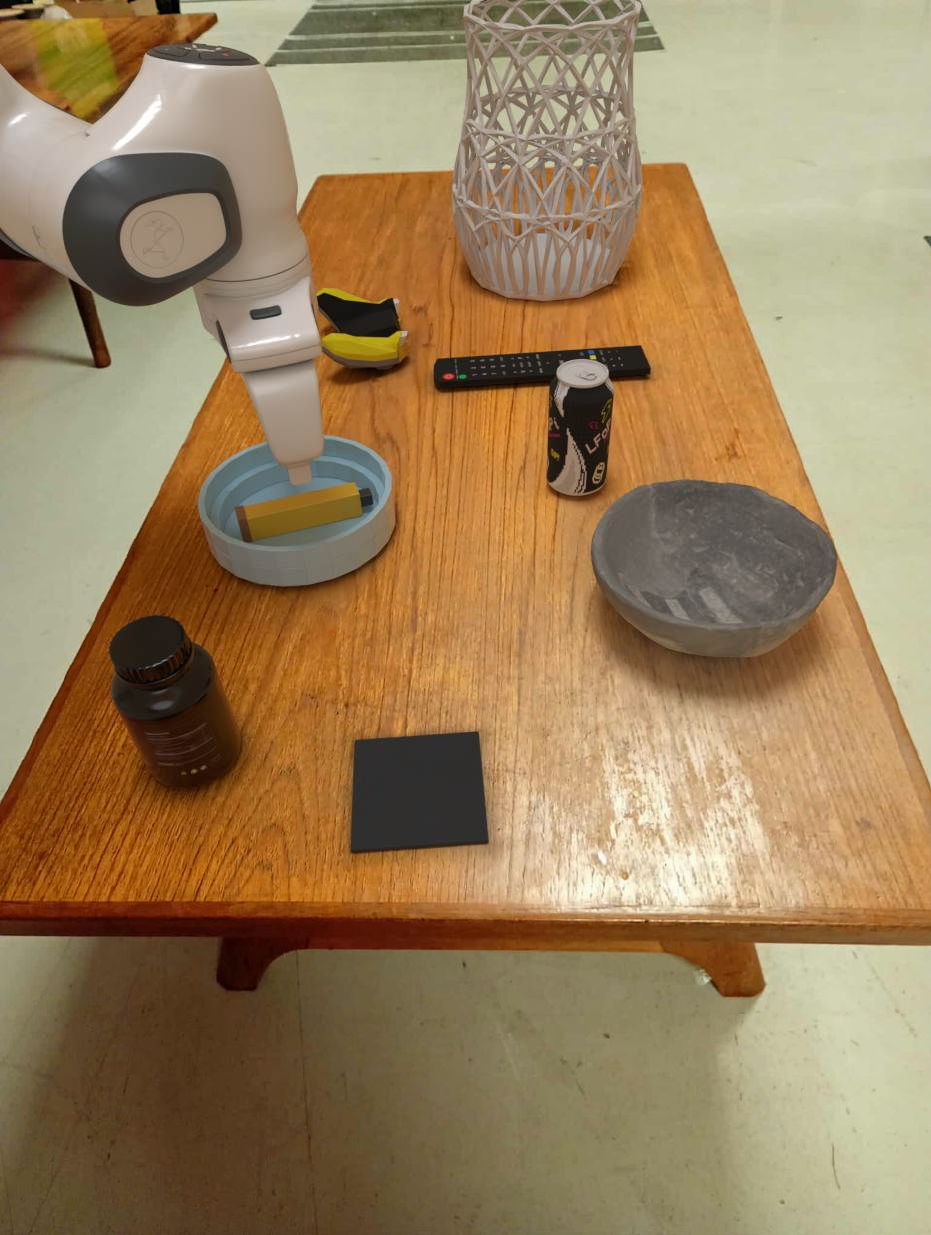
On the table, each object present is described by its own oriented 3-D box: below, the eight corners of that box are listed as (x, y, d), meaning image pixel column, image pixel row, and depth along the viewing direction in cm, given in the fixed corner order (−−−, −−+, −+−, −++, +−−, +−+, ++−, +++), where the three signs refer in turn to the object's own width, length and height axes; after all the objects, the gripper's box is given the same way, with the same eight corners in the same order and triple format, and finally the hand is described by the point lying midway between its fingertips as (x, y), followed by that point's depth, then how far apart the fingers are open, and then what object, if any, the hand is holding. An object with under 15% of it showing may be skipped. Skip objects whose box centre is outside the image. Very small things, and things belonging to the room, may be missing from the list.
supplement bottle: (142, 733, 66) (87, 618, 57) (234, 705, 67) (194, 590, 59) (153, 806, 61) (95, 693, 53) (251, 775, 63) (210, 660, 54)
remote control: (649, 379, 99) (650, 368, 98) (434, 393, 98) (434, 382, 98) (639, 356, 103) (641, 345, 102) (433, 369, 102) (432, 358, 101)
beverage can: (580, 509, 83) (588, 395, 74) (533, 485, 86) (536, 373, 77) (617, 481, 86) (629, 369, 77) (571, 459, 89) (577, 348, 80)
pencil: (244, 544, 80) (237, 520, 78) (240, 530, 82) (234, 506, 80) (375, 513, 83) (372, 490, 81) (370, 500, 84) (367, 477, 82)
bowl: (548, 581, 76) (551, 507, 70) (720, 524, 81) (736, 449, 75) (664, 732, 64) (678, 656, 58) (858, 654, 69) (889, 577, 63)
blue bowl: (196, 597, 76) (182, 557, 73) (223, 479, 88) (212, 440, 85) (396, 583, 76) (391, 543, 73) (395, 467, 89) (391, 429, 86)
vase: (632, 233, 128) (656, -20, 107) (637, 310, 111) (666, 27, 90) (465, 232, 130) (456, -15, 109) (445, 308, 113) (429, 32, 92)
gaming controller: (327, 388, 100) (415, 377, 101) (320, 343, 96) (411, 332, 97) (318, 327, 111) (398, 318, 112) (311, 284, 107) (394, 275, 108)
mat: (351, 853, 58) (350, 850, 58) (355, 743, 64) (354, 739, 64) (488, 843, 58) (488, 839, 58) (478, 734, 65) (478, 730, 64)
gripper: (199, 249, 73) (237, 397, 83) (232, 364, 59) (273, 526, 69) (275, 236, 74) (303, 384, 84) (325, 346, 60) (352, 508, 70)
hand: (290, 449), depth 76 cm, fingers open, 8 cm apart
